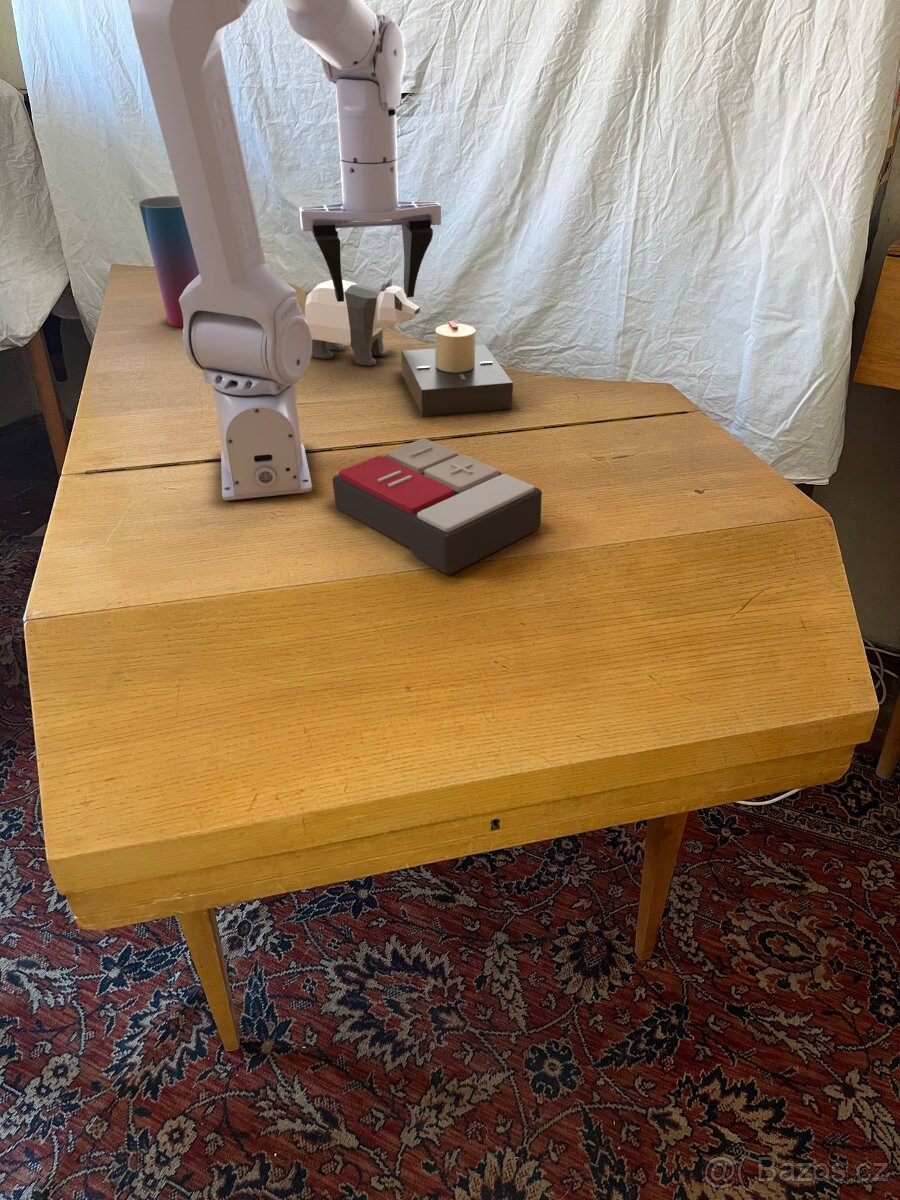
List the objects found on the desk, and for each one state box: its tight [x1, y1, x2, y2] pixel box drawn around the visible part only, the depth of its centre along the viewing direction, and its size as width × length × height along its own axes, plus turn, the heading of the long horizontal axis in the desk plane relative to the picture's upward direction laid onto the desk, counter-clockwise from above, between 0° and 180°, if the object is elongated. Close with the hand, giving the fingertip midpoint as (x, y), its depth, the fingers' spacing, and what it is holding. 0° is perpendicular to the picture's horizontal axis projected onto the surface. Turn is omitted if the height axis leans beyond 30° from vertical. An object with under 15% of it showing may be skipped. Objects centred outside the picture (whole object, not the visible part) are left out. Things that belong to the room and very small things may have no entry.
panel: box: [401, 344, 514, 417], centre depth 96 cm, size 12×10×3 cm
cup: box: [138, 195, 200, 328], centre depth 112 cm, size 7×7×15 cm
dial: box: [434, 320, 477, 373], centre depth 94 cm, size 4×4×4 cm
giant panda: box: [304, 278, 421, 367], centre depth 103 cm, size 15×6×10 cm, turn 70°
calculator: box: [332, 438, 543, 575], centre depth 73 cm, size 11×4×15 cm
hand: (374, 296), depth 94 cm, fingers open, 7 cm apart
